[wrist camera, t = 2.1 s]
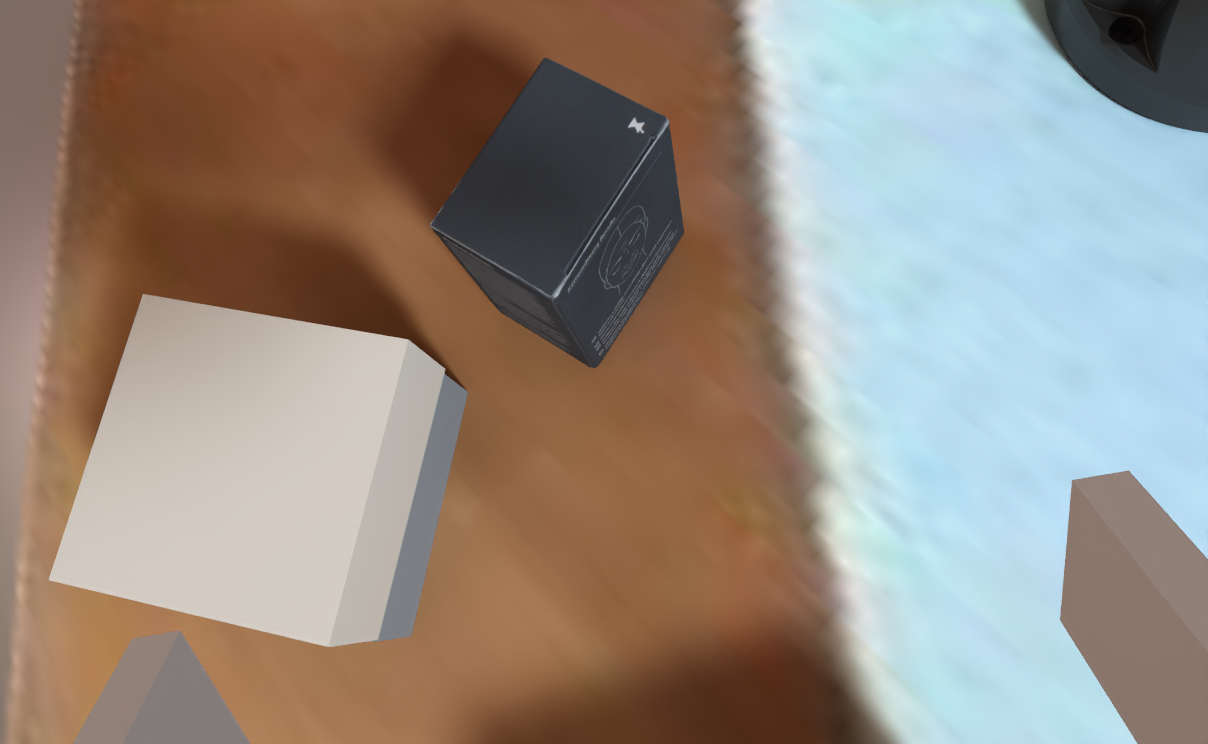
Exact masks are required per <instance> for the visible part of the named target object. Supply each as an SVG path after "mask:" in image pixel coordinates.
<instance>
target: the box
mask: <svg viewBox="0 0 1208 744" xmlns="http://www.w3.org/2000/svg"><path fill="white" fill-rule="evenodd" d="M430 227H431V228H432V229H433V231H434V232H435V233H436V234H437V235H438V236H439V238H440V239H441V240H442V241H443V243H444V244H445V245H446V246H447V247H448V249H449V250H450V251H451V252H452V254H453V255H454V256H455V257H456V259H457V260H458V261H459V262H460V264H461V265H462V266H463V267H464V268H465V270H466V271H467V272H468V273H469V275H470V276H471V277H472V278H473V279H474V281H475V282H476V283H477V284H478V285H479V286H480V288H481V289H482V290H483V292H484V293H485V294H486V295H487V297H488V298H489V299H490V301H491V302H492V303H493V304H494V305H495V307H496V308H497V309H498V310H499V311H500V312H501V313H503V314H504V315H506V316H508V317H509V318H511V319H513V320H514V321H516V322H517V323H519V324H521V325H522V326H524V327H525V328H527V329H529V330H531V331H532V332H534V333H535V334H537V335H539V336H540V337H542V338H544V339H545V340H547V341H549V342H550V343H552V344H553V345H555V346H557V347H558V348H560V349H562V350H563V351H565V352H566V353H568V354H570V355H571V356H573V357H575V358H576V359H578V360H579V361H581V362H582V363H584V364H586V365H588V367H592V368H596V367H597V366H598V365H599V364H600V362H601V361H602V360H603V358H604V356H605V355H606V353H607V352H608V351H609V349H610V347H611V346H612V344H613V343H614V341H615V340H616V338H617V336H618V335H619V333H620V332H621V330H622V329H623V327H624V326H625V324H626V323H627V321H628V320H629V318H630V316H631V315H632V313H633V312H634V310H635V309H636V307H637V306H638V304H639V302H640V301H641V299H642V298H643V296H644V295H645V293H646V292H647V290H648V289H649V287H650V285H651V284H652V282H653V281H654V279H655V277H656V276H657V274H658V273H659V271H660V270H661V268H662V267H663V265H664V264H665V262H666V260H667V259H668V257H669V256H670V254H671V253H672V251H673V250H674V248H675V246H676V245H677V243H678V242H679V240H680V238H681V237H682V235H683V234H684V229H683V222H682V214H681V207H680V200H679V192H678V185H677V177H676V170H675V162H674V154H673V148H672V140H671V133H670V129H669V120H668V119H667V117H665V116H664V115H662V114H659V113H657V112H655V111H653V110H651V109H649V108H647V107H645V106H643V105H641V104H639V103H637V102H634V101H632V100H631V99H629V98H627V97H625V96H623V95H621V94H619V93H617V92H615V91H613V90H611V89H609V88H607V87H605V86H603V85H601V84H599V83H597V82H595V81H593V80H591V79H589V78H587V77H585V76H583V75H581V74H579V73H577V72H575V71H573V70H571V69H569V68H567V67H565V66H563V65H561V64H559V63H557V62H554V61H552V60H550V59H548V58H544V59H543V60H542V62H541V63H540V65H539V66H538V68H537V69H536V71H535V72H534V74H533V75H532V77H531V78H530V80H529V81H528V83H527V84H526V86H525V87H524V89H523V90H522V91H521V93H520V94H519V96H518V97H517V99H516V100H515V102H514V103H513V105H512V106H511V107H510V109H509V110H508V112H507V113H506V115H505V116H504V118H503V119H502V121H501V122H500V123H499V125H498V127H497V128H496V130H495V131H494V132H493V134H492V135H491V137H490V138H489V140H488V141H487V142H486V144H485V145H484V147H483V148H482V150H481V151H480V153H479V154H478V156H477V157H476V159H475V160H474V161H473V163H472V164H471V166H470V167H469V169H468V170H467V172H466V173H465V175H464V176H463V177H462V179H461V180H460V182H459V183H458V185H457V186H456V188H455V189H454V191H453V192H452V193H451V195H450V197H449V198H448V200H447V201H446V202H445V204H444V205H443V207H442V208H441V209H440V211H439V212H438V214H437V215H436V217H435V218H434V219H433V221H432V222H431V224H430Z"/></svg>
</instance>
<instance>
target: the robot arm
mask: <svg viewBox="0 0 1208 744" xmlns="http://www.w3.org/2000/svg"><path fill="white" fill-rule="evenodd" d="M1045 4H1046V8H1047V13H1048V16H1049V19H1050V22H1051V25H1052V27H1053V30H1054V32H1055V34H1056V36H1057V38H1058V40H1059V42H1060V44H1061V46H1062V47H1063V49H1064V51H1065V52H1066V54H1067V55H1068V56H1069V58H1070V59H1071V60H1072V62H1073V63H1074V64H1075V65H1076V67H1077V68H1078V69H1079V70H1080V71H1081V72H1082V73H1083V74H1084V75H1085V76H1086V77H1087V78H1088V79H1089V80H1090V81H1091V82H1092V83H1093V84H1094V85H1095V86H1096V87H1098V88H1099V89H1100V90H1101V91H1103V92H1104V93H1105V94H1107V95H1108V96H1109V97H1111V98H1113V99H1114V100H1116V101H1117V102H1119V103H1120V104H1122V105H1124V106H1126V107H1127V108H1129V109H1131V110H1133V111H1135V112H1137V113H1139V114H1141V115H1143V116H1146V117H1148V118H1151V119H1153V120H1156V121H1159V122H1161V123H1164V124H1167V125H1171V126H1175V127H1178V128H1182V129H1187V130H1192V131H1198V132H1205V133H1208V0H1045ZM1060 621H1061V622H1062V624H1063V626H1064V627H1065V629H1066V630H1067V632H1068V633H1069V635H1070V637H1071V638H1072V640H1073V641H1074V643H1075V645H1076V646H1077V648H1078V649H1079V651H1080V653H1081V654H1082V656H1083V657H1084V659H1085V661H1086V662H1087V664H1088V665H1089V667H1090V669H1091V670H1092V672H1093V673H1094V675H1095V676H1096V678H1097V680H1098V681H1099V683H1100V684H1101V686H1102V688H1103V689H1104V691H1105V692H1106V694H1107V696H1108V697H1109V699H1110V700H1111V702H1112V704H1113V705H1114V707H1115V708H1116V710H1117V712H1118V713H1119V715H1120V716H1121V718H1122V719H1123V721H1124V723H1125V724H1126V726H1127V727H1128V729H1129V731H1130V732H1131V734H1132V735H1133V737H1134V739H1135V740H1136V742H1137V743H1138V744H1208V559H1207V558H1206V557H1205V556H1204V555H1203V553H1202V552H1201V551H1200V550H1199V549H1198V548H1197V547H1196V546H1195V544H1194V543H1193V542H1192V541H1191V540H1190V539H1189V538H1188V537H1187V535H1186V534H1185V533H1184V532H1183V531H1182V530H1181V529H1180V528H1179V527H1178V525H1177V524H1176V523H1175V522H1174V521H1173V520H1172V519H1171V518H1170V516H1169V515H1168V514H1167V513H1166V512H1165V511H1164V510H1163V509H1162V507H1161V506H1160V505H1159V504H1158V503H1157V502H1156V501H1155V500H1154V498H1153V497H1152V496H1151V495H1150V494H1149V493H1148V492H1147V491H1146V489H1145V488H1144V487H1143V486H1142V485H1141V484H1140V483H1139V482H1138V480H1137V479H1136V478H1135V477H1134V476H1133V475H1132V474H1131V473H1130V471H1124V472H1118V473H1112V474H1106V475H1100V476H1094V477H1089V478H1083V479H1077V480H1072V488H1071V500H1070V512H1069V523H1068V535H1067V546H1066V558H1065V570H1064V581H1063V593H1062V604H1061V616H1060ZM73 744H250V742H249V741H248V739H247V737H246V736H245V734H244V733H243V731H242V729H241V728H240V726H239V725H238V723H237V721H236V720H235V718H234V716H233V715H232V713H231V712H230V710H229V708H228V707H227V705H226V704H225V702H224V700H223V699H222V697H221V696H220V694H219V692H218V691H217V689H216V688H215V686H214V684H213V683H212V681H211V679H210V678H209V676H208V675H207V673H206V671H205V670H204V668H203V667H202V665H201V663H200V662H199V660H198V659H197V657H196V655H195V654H194V652H193V651H192V649H191V647H190V646H189V644H188V642H187V641H186V639H185V638H184V636H183V634H182V633H181V631H175V632H169V633H163V634H157V635H151V636H145V637H139V638H134V639H132V640H131V642H130V644H129V645H128V647H127V649H126V651H125V652H124V654H123V656H122V658H121V659H120V661H119V663H118V665H117V667H116V668H115V670H114V672H113V674H112V675H111V677H110V679H109V681H108V682H107V684H106V686H105V688H104V689H103V691H102V693H101V695H100V697H99V698H98V700H97V702H96V704H95V705H94V707H93V709H92V711H91V712H90V714H89V716H88V718H87V719H86V721H85V723H84V725H83V727H82V728H81V730H80V732H79V734H78V735H77V737H76V739H75V741H74V742H73Z"/></svg>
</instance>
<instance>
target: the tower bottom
mask: <svg viewBox="0 0 1208 744" xmlns="http://www.w3.org/2000/svg"><path fill="white" fill-rule="evenodd" d="M467 394H468V392H467V391H466V390H465V389H463V388H462V387H461V386H459V385H458V384H457V383H456V382H454V381H453V380H452V379H450V378H449V377H448V376H447V375H445V374H444V377H443V381H442V385H441V389H440V393H439V397H438V401H437V405H436V409H435V413H434V417H433V421H432V425H431V429H430V433H429V437H428V441H427V445H426V449H425V453H424V457H423V461H422V465H421V469H420V473H419V477H418V481H417V485H416V489H415V493H414V497H413V501H412V505H411V509H410V513H409V517H408V521H407V525H406V529H405V533H404V537H403V541H402V545H401V549H400V554H399V558H398V562H397V566H396V570H395V574H394V578H393V582H392V586H391V590H390V594H389V598H388V602H387V606H386V610H385V614H384V618H383V622H382V626H381V630H380V634H379V638H378V640H374V642H376V641H383V640H390V639H396V638H403V637H409V636H411V635H412V630H413V626H414V622H415V617H416V613H417V609H418V605H419V600H420V596H421V592H422V587H423V583H424V579H425V574H426V570H427V566H428V562H429V557H430V553H431V549H432V544H433V540H434V536H435V531H436V527H437V523H438V519H439V514H440V510H441V506H442V501H443V497H444V493H445V488H446V484H447V480H448V476H449V471H450V467H451V463H452V458H453V454H454V450H455V445H456V441H457V437H458V433H459V428H460V424H461V420H462V415H463V411H464V407H465V402H466V398H467Z"/></svg>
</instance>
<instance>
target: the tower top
mask: <svg viewBox="0 0 1208 744" xmlns="http://www.w3.org/2000/svg"><path fill="white" fill-rule="evenodd" d="M444 373H445V368H443V367H442V366H441V365H440V364H438V363H437V362H436V361H435V360H433V359H432V358H431V357H430V356H428V355H427V354H426V353H425V352H423V351H422V350H421V349H420V348H418V347H417V346H416V345H415V344H413V343H412V342H411V341H410V340H408V339H402V338H397V337H391V336H385V335H379V334H373V333H367V332H362V331H356V330H350V329H344V328H338V327H333V326H327V325H321V324H315V323H309V322H303V321H298V320H292V319H286V318H280V317H274V316H269V315H263V314H257V313H251V312H245V311H239V310H234V309H228V308H222V307H216V306H210V305H205V304H199V303H193V302H187V301H181V300H175V299H170V298H164V297H158V296H152V295H146V294H143V295H142V298H141V302H140V305H139V308H138V311H137V314H136V317H135V320H134V323H133V326H132V329H131V332H130V335H129V338H128V341H127V344H126V347H125V350H124V353H123V356H122V359H121V362H120V365H119V368H118V371H117V374H116V377H115V380H114V383H113V386H112V389H111V392H110V395H109V398H108V402H107V405H106V408H105V411H104V414H103V417H102V420H101V423H100V426H99V429H98V432H97V435H96V438H95V441H94V444H93V447H92V450H91V453H90V456H89V459H88V462H87V465H86V468H85V471H84V474H83V477H82V480H81V483H80V486H79V489H78V492H77V495H76V498H75V502H74V505H73V508H72V511H71V514H70V517H69V520H68V523H67V526H66V529H65V532H64V535H63V538H62V541H61V544H60V547H59V550H58V553H57V556H56V559H55V562H54V565H53V568H52V571H51V574H50V577H49V580H51V581H55V582H59V583H63V584H67V585H71V586H76V587H80V588H84V589H88V590H92V591H97V592H101V593H105V594H109V595H113V596H117V597H122V598H126V599H130V600H134V601H138V602H143V603H147V604H151V605H155V606H159V607H163V608H168V609H172V610H176V611H180V612H184V613H189V614H193V615H197V616H201V617H205V618H209V619H214V620H218V621H222V622H226V623H230V624H235V625H239V626H243V627H247V628H251V629H255V630H260V631H264V632H268V633H272V634H276V635H281V636H285V637H289V638H293V639H297V640H301V641H306V642H310V643H314V644H318V645H322V646H326V647H332V646H339V645H346V644H353V643H360V642H367V641H374V640H378V638H379V634H380V630H381V626H382V622H383V618H384V614H385V610H386V606H387V602H388V598H389V594H390V590H391V586H392V582H393V578H394V574H395V570H396V566H397V562H398V558H399V554H400V549H401V545H402V541H403V537H404V533H405V529H406V525H407V521H408V517H409V513H410V509H411V505H412V501H413V497H414V493H415V489H416V485H417V481H418V477H419V473H420V469H421V465H422V461H423V457H424V453H425V449H426V445H427V441H428V437H429V433H430V429H431V425H432V421H433V417H434V413H435V409H436V405H437V401H438V397H439V393H440V389H441V385H442V381H443V377H444Z"/></svg>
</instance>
